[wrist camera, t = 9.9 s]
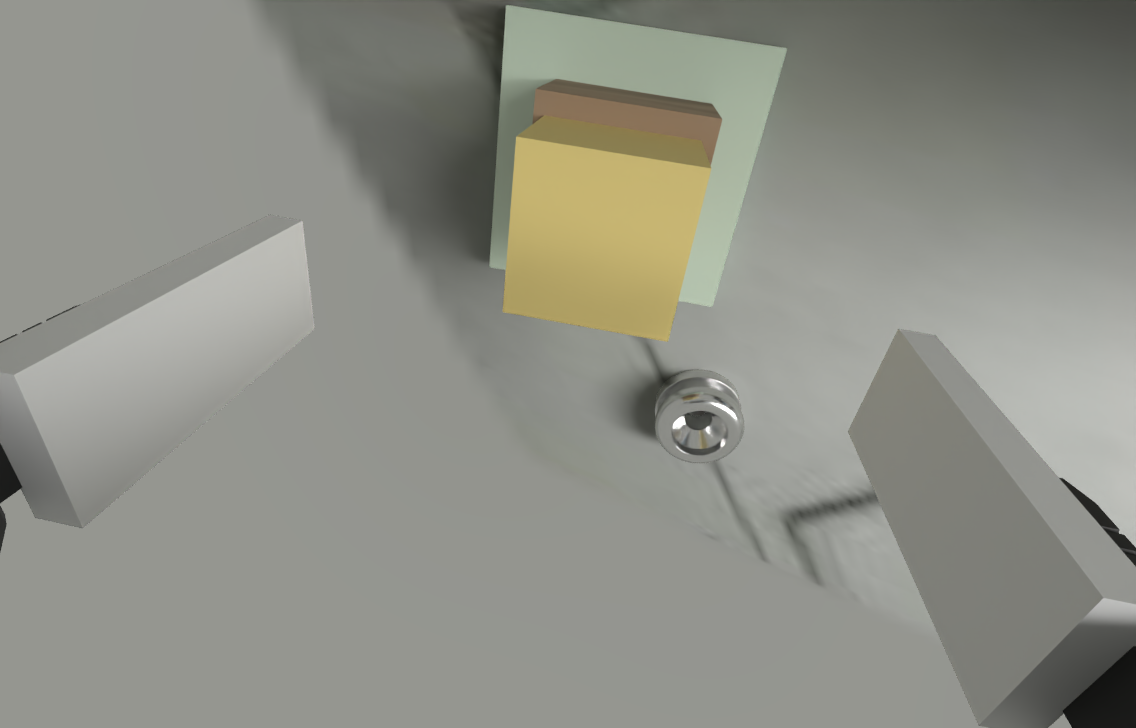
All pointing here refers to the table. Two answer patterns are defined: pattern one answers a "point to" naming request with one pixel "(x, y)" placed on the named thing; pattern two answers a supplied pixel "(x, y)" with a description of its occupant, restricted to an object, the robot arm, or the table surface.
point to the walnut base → (629, 111)
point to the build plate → (649, 65)
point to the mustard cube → (602, 225)
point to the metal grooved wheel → (700, 433)
